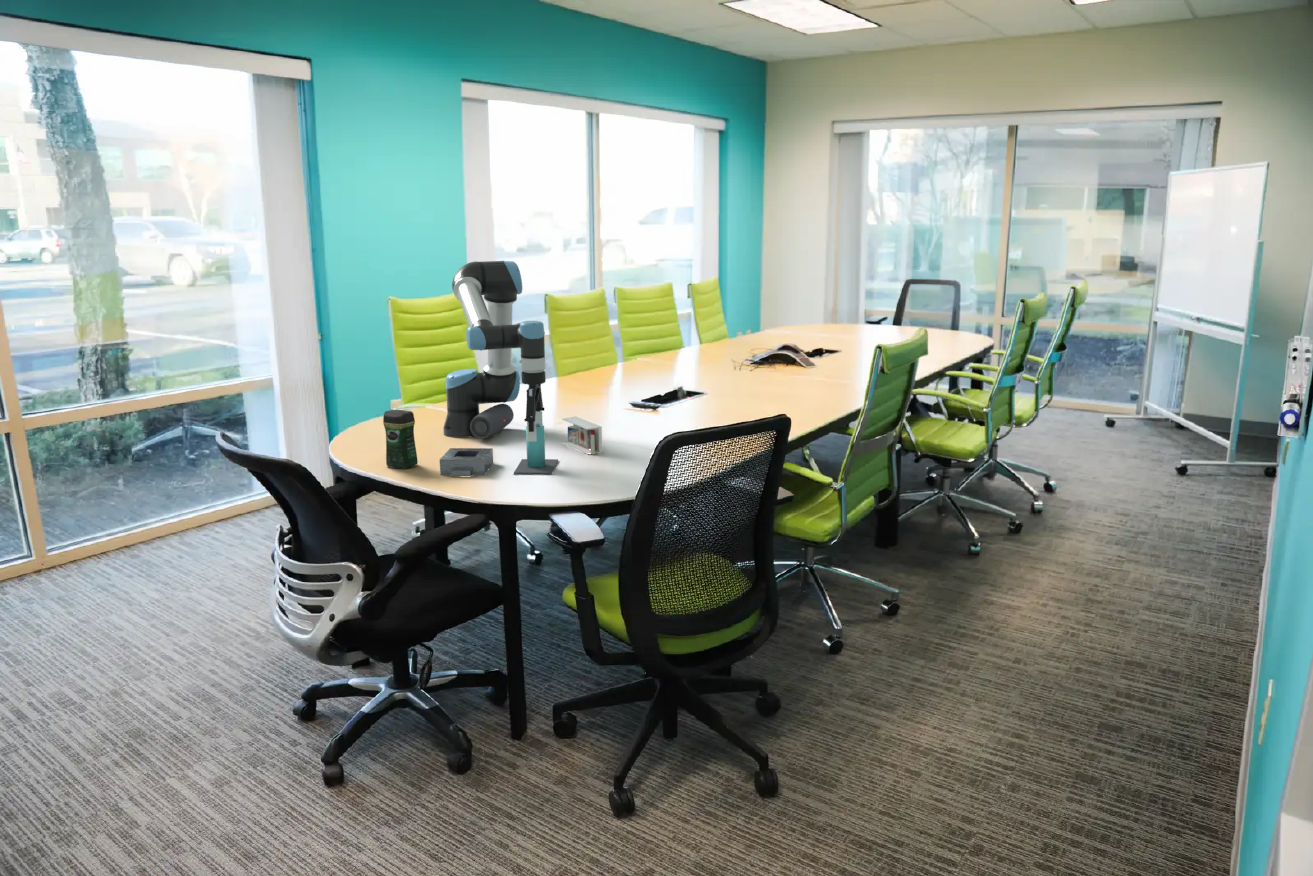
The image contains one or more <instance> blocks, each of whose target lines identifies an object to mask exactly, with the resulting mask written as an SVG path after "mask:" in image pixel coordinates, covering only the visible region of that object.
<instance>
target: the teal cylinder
mask: <svg viewBox="0 0 1313 876" xmlns="http://www.w3.org/2000/svg"><path fill="white" fill-rule="evenodd" d="M536 437H537V441H528V436H527V425H526V426H525V439H526V441H525V442H526V459H527V466H528V467H529V468H542V467H544V466H545V459H546V447H545V445H546V442H545V440H546V439H545V425H544V424H543V425H540V424H539V423H536Z"/></svg>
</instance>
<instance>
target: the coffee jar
mask: <svg viewBox="0 0 1313 876" xmlns="http://www.w3.org/2000/svg"><path fill="white" fill-rule="evenodd" d="M382 420H383V421H382V423H383V427H384V430H385V445H386V446H385V448H386V450H385V451H386V452H385V457H386V459H385V461H386V463H385V464H386V466H387V467H388V468H392V467H394V469H408V468H411V467H412V468H414V467H415V466H416V465H418V462H419V461H418V453H417V447H416V441H415V434H414V433H415V432H414V427H415V424H416V423H415V422H416V421H415V414H414V412H413V411H412V410H403V409H402V410H401V409H390V410H386V411H384V413H383V418H382ZM412 468H411V469H412Z"/></svg>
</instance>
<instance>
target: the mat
mask: <svg viewBox="0 0 1313 876" xmlns="http://www.w3.org/2000/svg"><path fill="white" fill-rule="evenodd" d="M558 462H559V458H558V459H557V458H555V459H554V458H545V466H544V467H542V468H529V467H528V466H527V458H522V459H521V460H520V461H519V463H518V465H517V467H516V468H515V470H514V471H513V475H542V476H543V475H546V476H547V475H549V476H550V475H553V473H554V471H555V469H556V467H557V464H558Z"/></svg>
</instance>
